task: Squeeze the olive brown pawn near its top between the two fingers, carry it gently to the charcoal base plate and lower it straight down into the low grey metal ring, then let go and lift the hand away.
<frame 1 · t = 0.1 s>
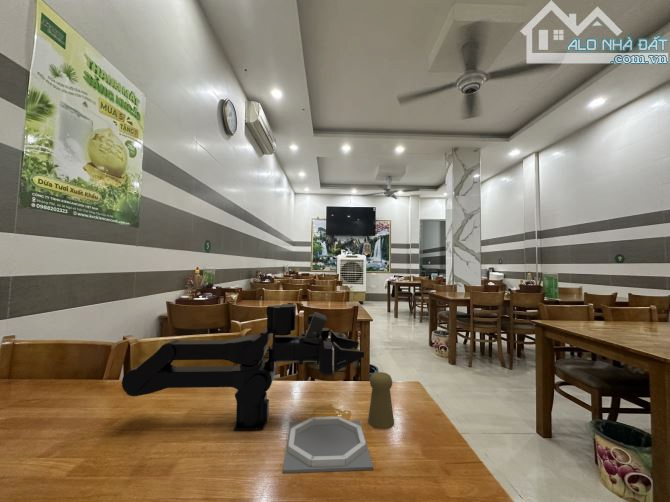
hand: (360, 348, 70), 17 cm above the table, tool horizontal, fingers open, 9 cm apart
collar plate: (326, 444, 60), on the table
olive brown pawn: (381, 422, 68), on the table
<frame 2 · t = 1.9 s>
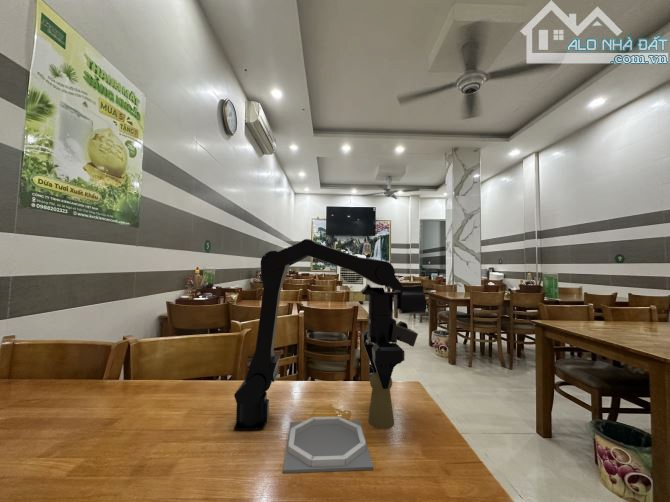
hand: (380, 380, 69), 9 cm above the table, tool pointing down, fingers open, 9 cm apart
nothing on the table moved.
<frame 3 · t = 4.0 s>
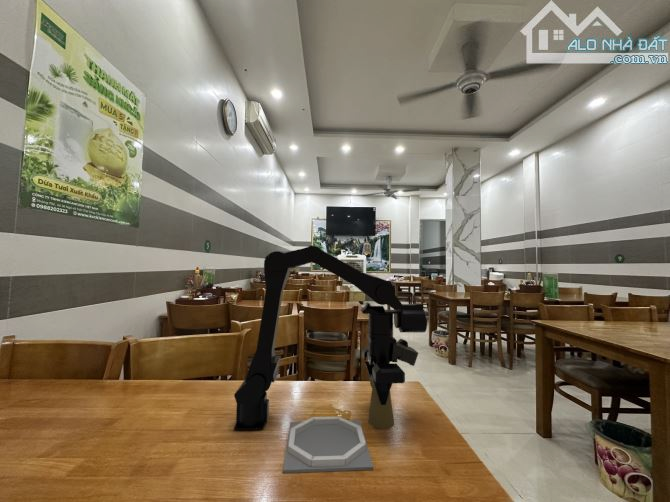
hand: (380, 399, 69), 5 cm above the table, tool pointing down, fingers closed on olive brown pawn, 5 cm apart
olive brown pawn: (381, 422, 68), on the table, touching gripper
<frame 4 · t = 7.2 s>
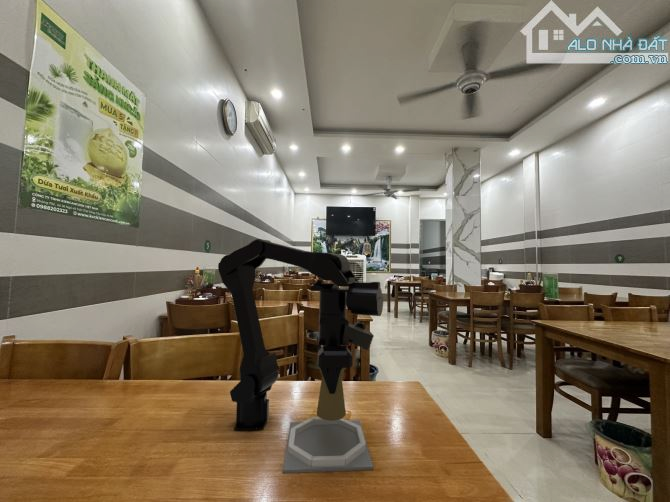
hand: (331, 388, 61), 11 cm above the table, tool pointing down, fingers closed on olive brown pawn, 5 cm apart
olive brown pawn: (331, 414, 61), point 6 cm above the table, touching gripper
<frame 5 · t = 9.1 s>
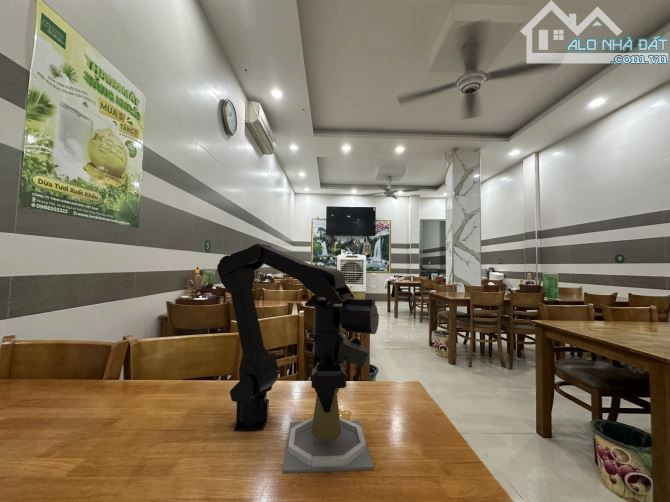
hand: (326, 406, 60), 7 cm above the table, tool pointing down, fingers closed on olive brown pawn, 5 cm apart
olive brown pawn: (326, 432, 60), point 2 cm above the table, touching gripper
when the fingers open (6 cm above the table, at t = 10.7 s): olive brown pawn stays where it is, resting on collar plate.
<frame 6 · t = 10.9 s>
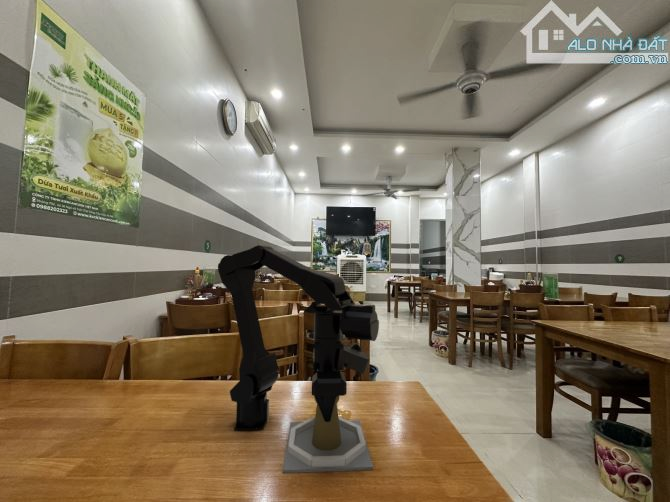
hand: (326, 412, 60), 6 cm above the table, tool pointing down, fingers open, 6 cm apart
olive brown pawn: (326, 442, 60), resting on collar plate
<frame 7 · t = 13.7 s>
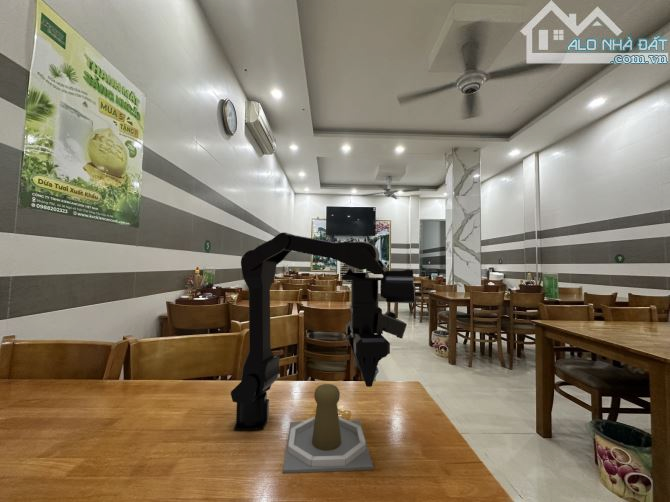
hand: (365, 377, 61), 13 cm above the table, tool pointing down, fingers open, 9 cm apart
nothing on the table moved.
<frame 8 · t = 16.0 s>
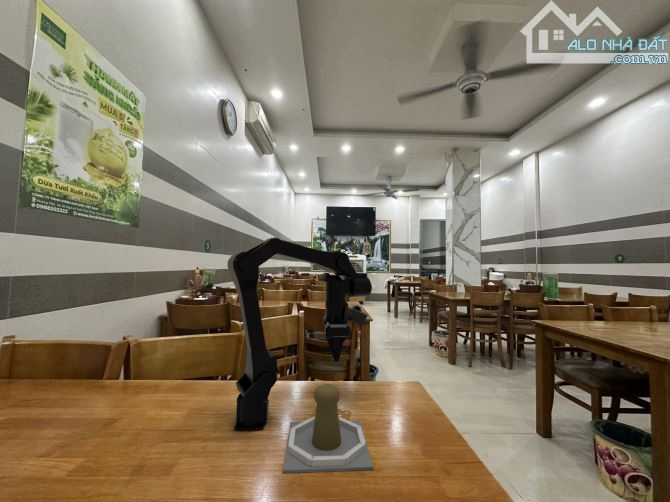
hand: (335, 355, 79), 12 cm above the table, tool pointing down, fingers open, 9 cm apart
nothing on the table moved.
at the end: olive brown pawn 0.0 cm off-centre on the collar plate, point 0.3 cm above the collar plate's base; olive brown pawn tilted 0°; the gripper is holding nothing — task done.
